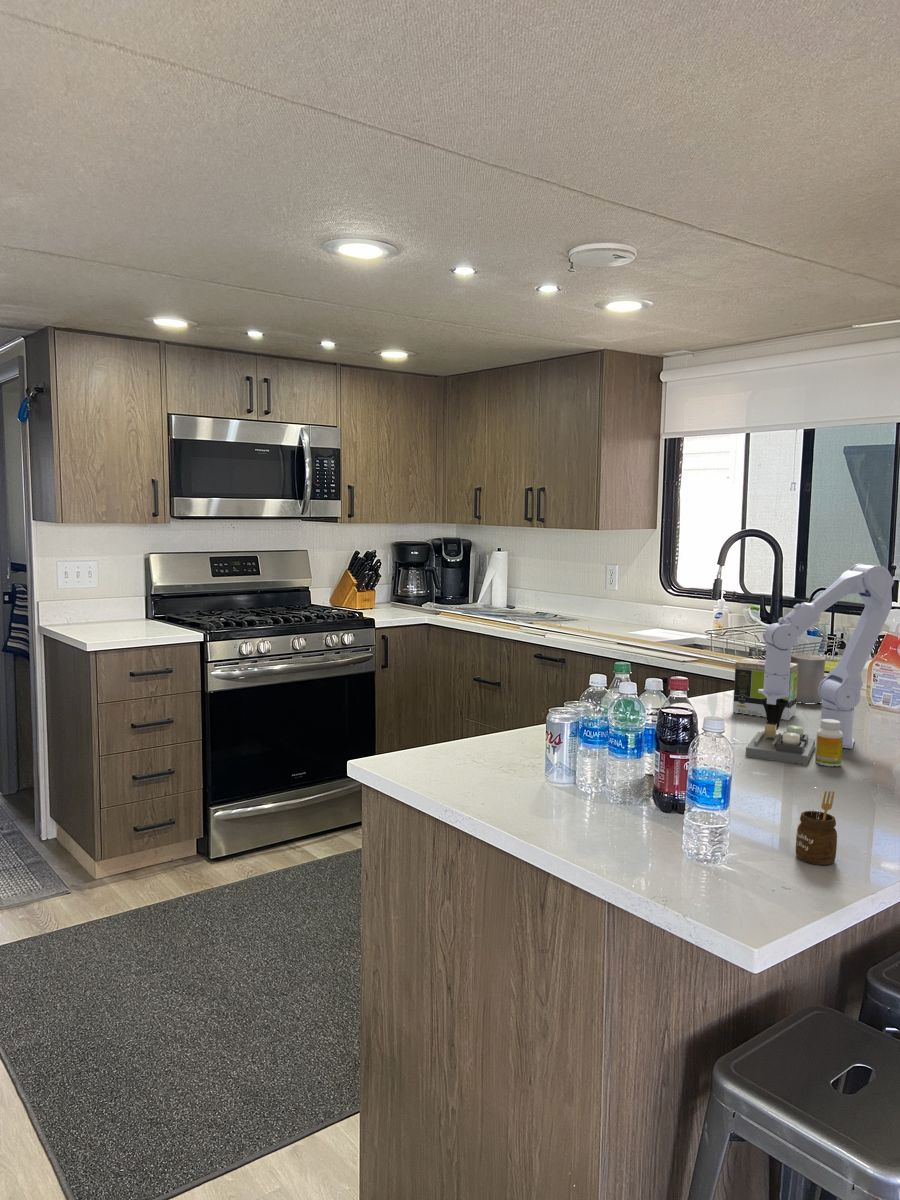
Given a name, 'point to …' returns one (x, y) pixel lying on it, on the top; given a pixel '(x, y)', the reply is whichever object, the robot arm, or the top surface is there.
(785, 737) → the white button
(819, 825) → the utensil holder
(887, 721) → the top surface
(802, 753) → the panel
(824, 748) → the supplement bottle
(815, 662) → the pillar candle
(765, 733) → the tan wooden block
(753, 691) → the tea box
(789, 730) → the sage button
